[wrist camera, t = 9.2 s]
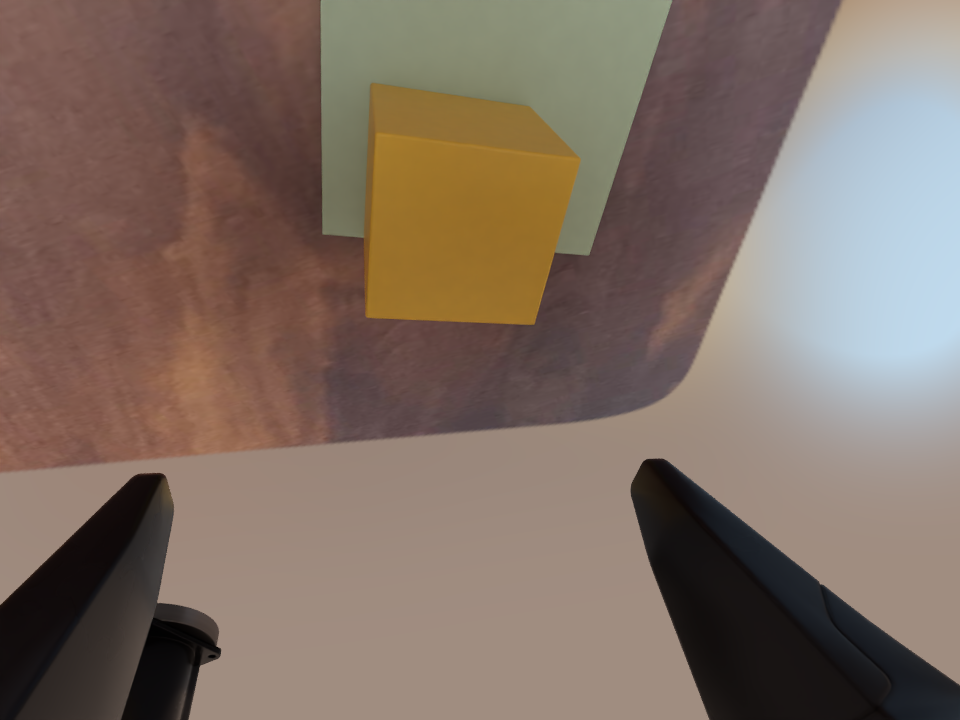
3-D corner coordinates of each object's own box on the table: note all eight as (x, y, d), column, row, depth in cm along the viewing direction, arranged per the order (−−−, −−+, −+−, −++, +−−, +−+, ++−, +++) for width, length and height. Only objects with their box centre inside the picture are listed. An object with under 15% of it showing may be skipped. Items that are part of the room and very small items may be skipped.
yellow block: (531, 106, 17) (582, 158, 13) (500, 249, 20) (534, 326, 16) (370, 82, 16) (374, 132, 12) (363, 238, 19) (365, 319, 15)
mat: (689, -70, 15) (695, -70, 15) (586, 251, 21) (589, 255, 21) (319, -164, 12) (318, -166, 12) (322, 230, 18) (322, 234, 18)
